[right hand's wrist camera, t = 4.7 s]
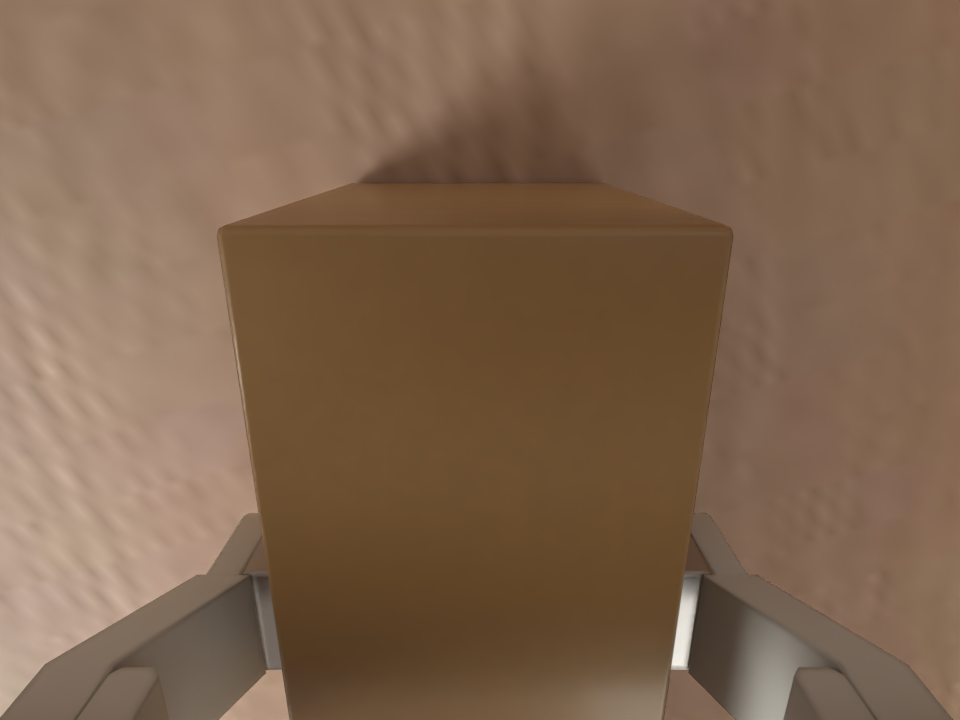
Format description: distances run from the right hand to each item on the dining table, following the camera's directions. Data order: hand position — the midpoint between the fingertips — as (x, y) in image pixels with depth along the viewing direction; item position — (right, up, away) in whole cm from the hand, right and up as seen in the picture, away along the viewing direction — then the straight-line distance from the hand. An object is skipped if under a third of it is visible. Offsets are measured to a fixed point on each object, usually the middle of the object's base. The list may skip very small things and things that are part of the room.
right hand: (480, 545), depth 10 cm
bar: (0, -27, +13) cm, 29 cm away
